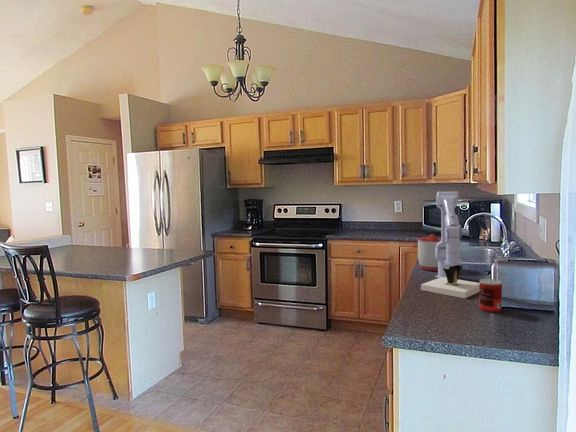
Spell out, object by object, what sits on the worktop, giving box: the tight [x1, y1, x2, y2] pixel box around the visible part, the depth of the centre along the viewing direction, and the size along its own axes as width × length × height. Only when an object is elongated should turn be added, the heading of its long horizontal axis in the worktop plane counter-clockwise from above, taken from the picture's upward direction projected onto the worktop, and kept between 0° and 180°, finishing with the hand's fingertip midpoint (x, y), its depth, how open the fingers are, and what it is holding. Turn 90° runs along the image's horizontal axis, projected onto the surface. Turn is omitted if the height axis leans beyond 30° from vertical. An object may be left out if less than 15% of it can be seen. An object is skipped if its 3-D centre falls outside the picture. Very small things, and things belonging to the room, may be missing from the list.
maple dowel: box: [447, 271, 457, 286], centre depth 182 cm, size 4×4×8 cm
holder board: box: [420, 277, 480, 299], centre depth 182 cm, size 20×20×2 cm
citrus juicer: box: [417, 233, 441, 272], centre depth 226 cm, size 16×17×20 cm
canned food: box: [478, 278, 503, 313], centre depth 153 cm, size 8×8×11 cm
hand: (452, 282), depth 182 cm, fingers closed on maple dowel, 4 cm apart
